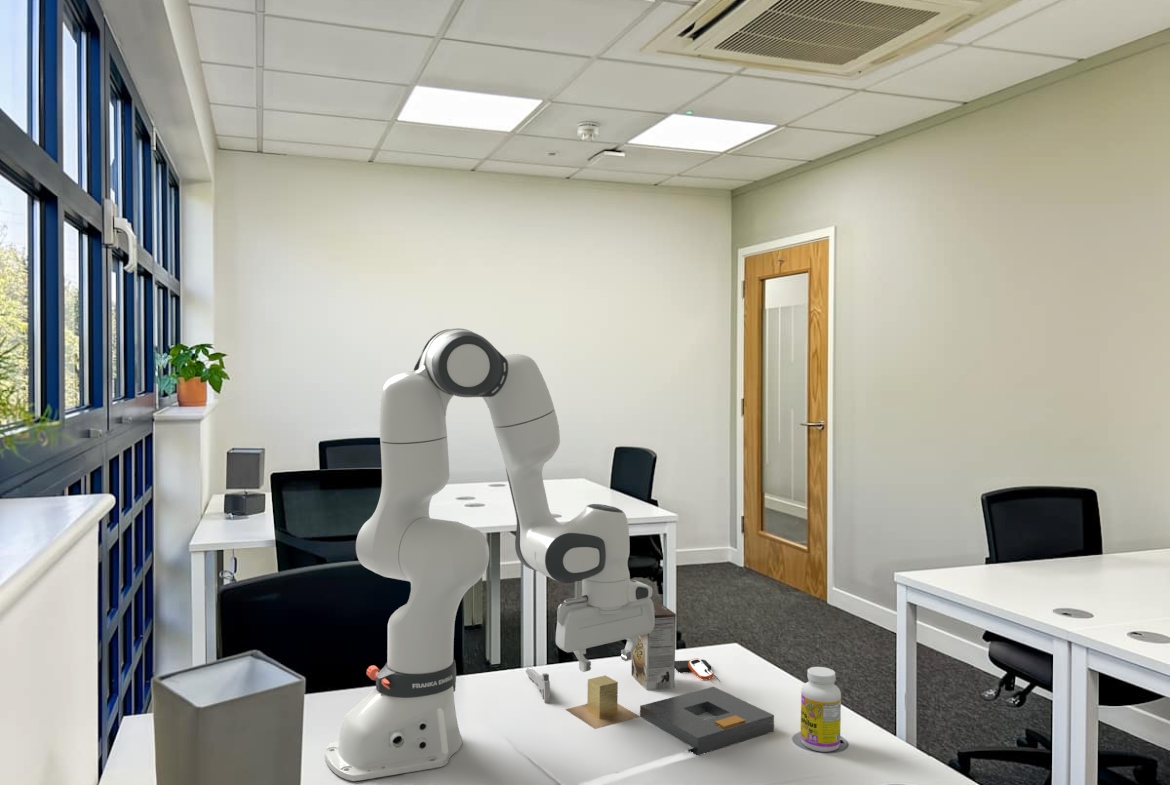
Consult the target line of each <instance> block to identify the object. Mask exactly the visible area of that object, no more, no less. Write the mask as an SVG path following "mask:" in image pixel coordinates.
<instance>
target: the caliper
mask: <svg viewBox="0 0 1170 785" xmlns="http://www.w3.org/2000/svg"><path fill="white" fill-rule="evenodd" d="M529 668H530V667H527V668H526V669H525V672H526V674H527V677H529V678H530V679H531V680H532V681H533V682H534V683H535V684H536V685H537V689H538V690H539V691H541V692H540V693H541V698H542V700H543V703H544V704H550V703H551V685H550V684H551V682H550V678H549V677H550V675H549V673H548V672H547V673H542V674H540V673H539V672H537V671H536V670H535V669H533V668H532V669H529Z"/></svg>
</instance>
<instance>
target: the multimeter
mask: <svg viewBox="0 0 1170 785" xmlns="http://www.w3.org/2000/svg"><path fill="white" fill-rule="evenodd" d="M675 670H676V672H677V673H679V672H680V673H679V674H683V672H688V673H693V674H694V676H696V677H697V676H698V677H699V678H701V679H708V680H709V681H710V682H711V683H713V684H714V683H715V682H714V681H712V679H713V678H714V677H715V678H716V679H717V680H718V681H719V682H721V681H720V679H719V678H718V677H717V676H716V675H715V674H714V672H713V671H712V664H711V665H710V663H709V662H708V661H707V660H706V659H700V658H698V657H695V658H692V659H690V660H689V659H688V660H675ZM698 677H697V678H698ZM712 677H713V678H712ZM699 678H698V679H699ZM709 678H710V679H709ZM711 678H712V679H711ZM701 679H700V680H701Z"/></svg>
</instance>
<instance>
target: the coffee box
mask: <svg viewBox="0 0 1170 785" xmlns="http://www.w3.org/2000/svg"><path fill="white" fill-rule="evenodd" d="M653 604H654V614H655V625H654V628H653V630H652V632H651V633H649V634H645V635H641V636H638V642H637V644H636V646H635V648H634V650H633V659H632V660H631V676H632V678H633V679H634V680H635V681H636V682H637V683H638V684H640V686H642V688H644V689H645V690H646V691H651V690H653V691H654V690H662V689H664V690H665V689H670V688H675V677H676V676H675V673H676V672H675V670H676V669H675V661H676V629H677V628H676V627H677V626H676V624H677V614H676V613H675V612H674V611H672V610H671V609H669V608H668V607H667V606H665V605H663V604H662V603H661V602H660V601H659V602H658V601H657V602H656V601H655V602H653Z"/></svg>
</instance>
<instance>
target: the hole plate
mask: <svg viewBox="0 0 1170 785" xmlns="http://www.w3.org/2000/svg"><path fill="white" fill-rule="evenodd" d="M706 713H708V714H710V715H712V716H714V717H710V718H707V719H704V718H702V717H700V716H701V715H703V714H706ZM699 715H700V716H699ZM639 716H640V717H639V718H641V719H643V720H645V721H647V722H648V723H650V724H652V725H654V726H655V727H657V728H658V729H660V730H662V731H663V732H666V733H667V734H668V735H670V736H673V737H674V738H675V739H677V740H680V741H681V742H683V743H685V744H686V745H688V746H690V748H688V749H687V751H689V752H690V751H691V753H692V752H693V753H692V754H693V755H695V754H696V755H695V756H697V755H698V756H700V755H701V754H702V755H705V754H707V752H708V753H710V752H714V751H716V750H717V751H718V750H721V749H723V748H726V747H730V746H732V745H736V744H739V743H743V742H746V741H748V740H752V739H755V738H758V737H762V736H764V735H768V734H770V733H774V732H775V731H774V730H775V714H773V713H770V712H768V711H766V710H764V709H762V708H760V707H757V706H756V705H753V704H751V703H749V702H748V701H745V700H743V699H741V698H740V697H739V698H738V697H736V696H735V695H732V694H730V693H729V692H726V691H724V690H722V689H719V688H718V687H715V686H711V687H707V688H703V689H699V690H695V691H692V692H688V693H684V694H680V695H676V696H673V697H672V696H671V697H669V698H668V697H667V698H665V699H660V700H658V701H652V702H650V703H649V702H648V703H646V704H641V705H640V706H639ZM691 747H692V748H691ZM720 748H721V749H720ZM704 753H705V754H704ZM702 755H701V756H702Z"/></svg>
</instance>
